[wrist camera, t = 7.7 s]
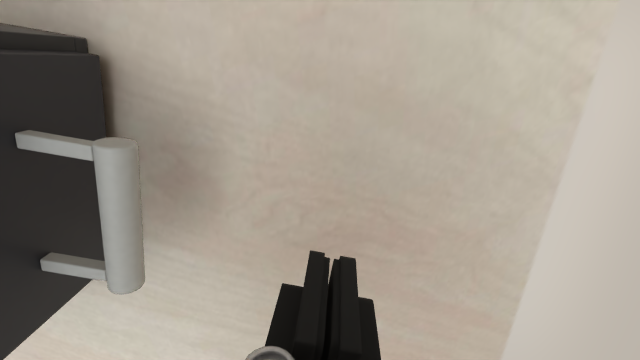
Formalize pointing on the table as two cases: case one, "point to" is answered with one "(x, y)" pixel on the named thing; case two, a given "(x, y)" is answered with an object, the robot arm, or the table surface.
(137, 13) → the table surface
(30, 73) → the drawer
